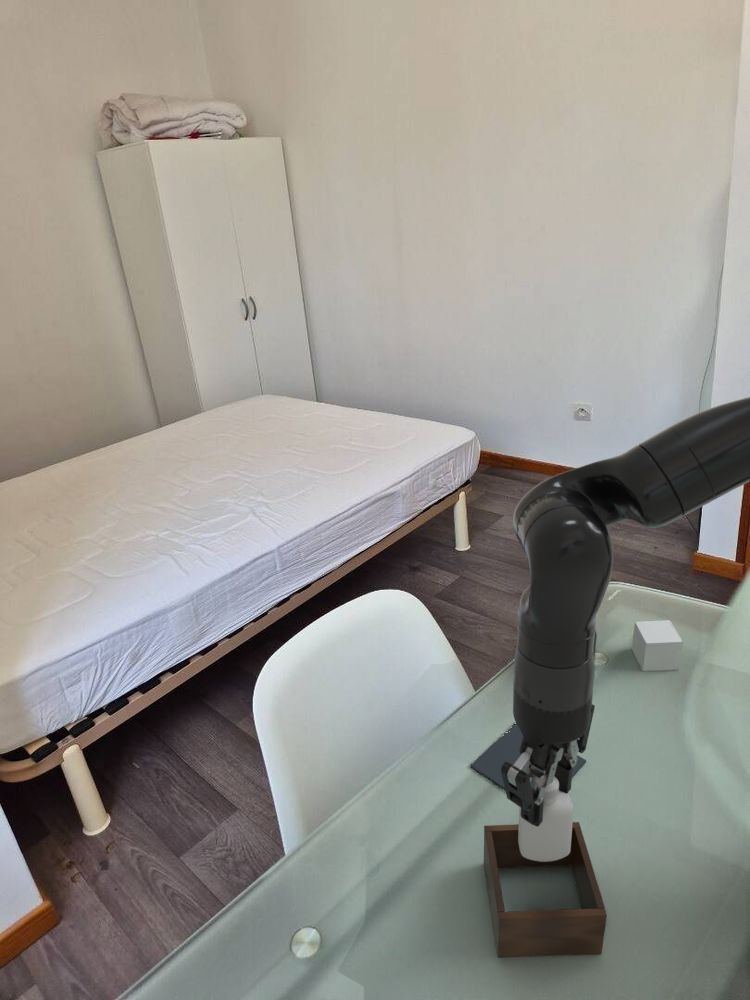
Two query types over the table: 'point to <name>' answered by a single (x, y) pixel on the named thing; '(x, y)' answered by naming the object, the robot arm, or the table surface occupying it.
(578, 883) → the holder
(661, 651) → the grey cube
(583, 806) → the table surface
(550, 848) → the eye dropper bottle
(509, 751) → the mat
